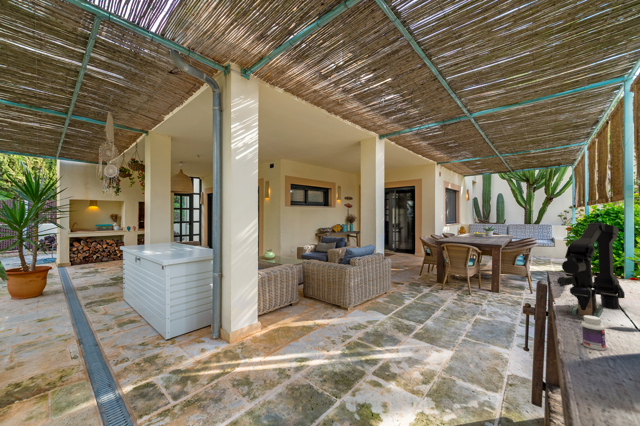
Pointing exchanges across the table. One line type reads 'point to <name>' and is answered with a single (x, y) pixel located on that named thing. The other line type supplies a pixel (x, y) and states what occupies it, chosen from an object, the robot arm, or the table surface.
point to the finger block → (588, 309)
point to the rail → (595, 313)
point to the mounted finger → (594, 303)
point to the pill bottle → (593, 333)
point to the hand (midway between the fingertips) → (585, 307)
